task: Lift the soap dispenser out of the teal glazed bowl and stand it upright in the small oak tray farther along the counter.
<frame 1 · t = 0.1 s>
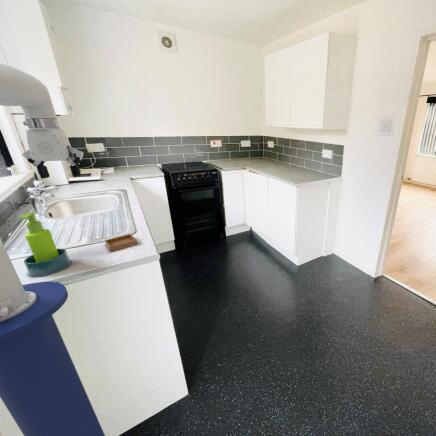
hand: (61, 177, 85), 30 cm above the countertop, tool pointing down, fingers open, 9 cm apart
soap dispenser: (50, 267, 86), resting on bowl
tray: (121, 244, 104), on the countertop
bowl: (50, 268, 86), on the countertop
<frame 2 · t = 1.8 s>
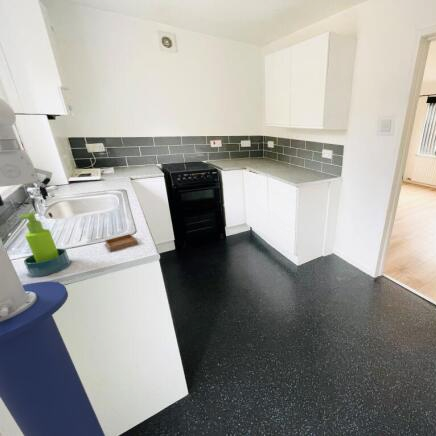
hand: (24, 201, 78), 24 cm above the countertop, tool pointing down, fingers open, 9 cm apart
nothing on the countertop moved.
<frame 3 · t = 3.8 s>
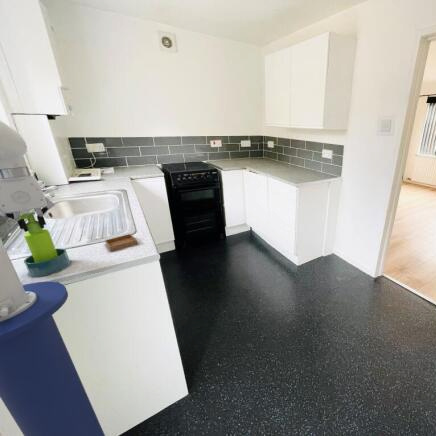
hand: (34, 228, 81), 15 cm above the countertop, tool pointing down, fingers closed on soap dispenser, 3 cm apart
soap dispenser: (49, 267, 86), resting on bowl, touching gripper
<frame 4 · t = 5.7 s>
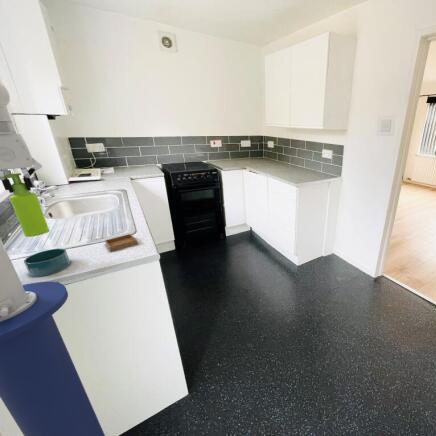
hand: (20, 190, 77), 28 cm above the countertop, tool pointing down, fingers closed on soap dispenser, 3 cm apart
soap dispenser: (36, 234, 81), point 13 cm above the countertop, touching gripper
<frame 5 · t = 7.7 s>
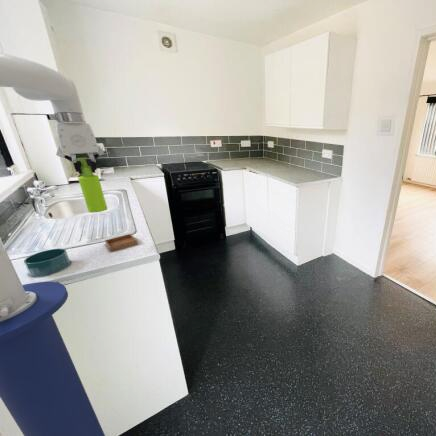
hand: (87, 172, 90), 31 cm above the countertop, tool pointing down, fingers closed on soap dispenser, 3 cm apart
soap dispenser: (98, 211, 94), point 16 cm above the countertop, touching gripper
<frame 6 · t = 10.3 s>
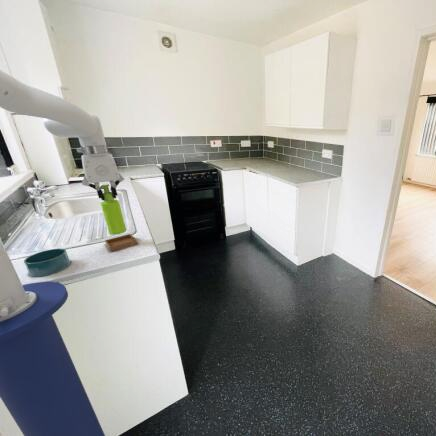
hand: (108, 198, 97), 20 cm above the countertop, tool pointing down, fingers closed on soap dispenser, 3 cm apart
soap dispenser: (117, 232, 102), point 5 cm above the countertop, touching gripper
when the fingers open (15 cm above the countertop, at t = 11.8 s): soap dispenser stays where it is, resting on tray.
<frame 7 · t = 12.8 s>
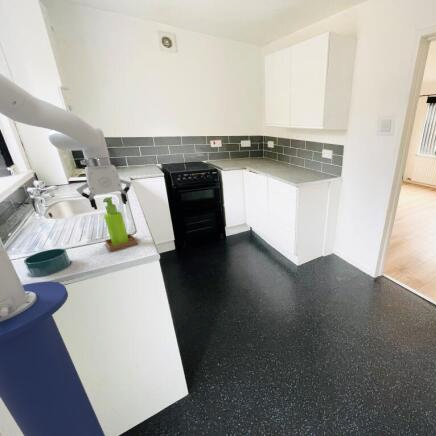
hand: (110, 206, 98), 17 cm above the countertop, tool pointing down, fingers open, 9 cm apart
soap dispenser: (120, 244, 103), resting on tray
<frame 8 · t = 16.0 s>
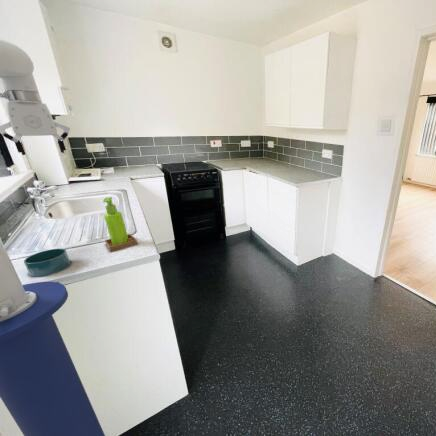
hand: (44, 153, 84), 38 cm above the countertop, tool pointing down, fingers open, 9 cm apart
nothing on the countertop moved.
at the end: soap dispenser 0.3 cm off-centre in the tray, point 0.3 cm above the tray's base; soap dispenser tilted 0°; the gripper is holding nothing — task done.
